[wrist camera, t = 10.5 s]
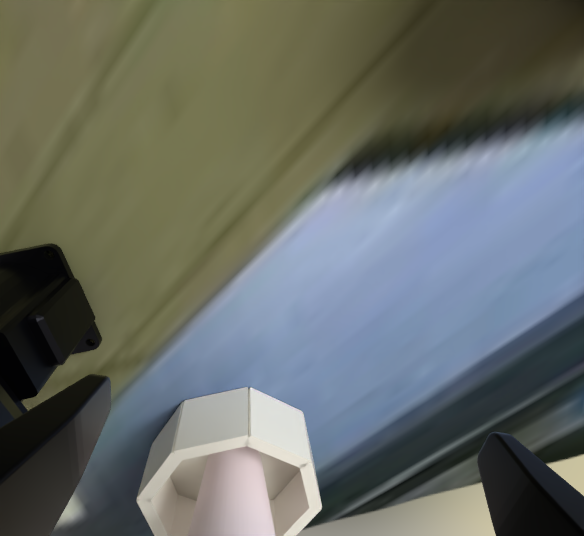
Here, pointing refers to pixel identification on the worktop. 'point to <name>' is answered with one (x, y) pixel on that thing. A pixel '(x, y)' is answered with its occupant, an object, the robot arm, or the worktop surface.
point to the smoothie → (233, 496)
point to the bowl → (225, 436)
